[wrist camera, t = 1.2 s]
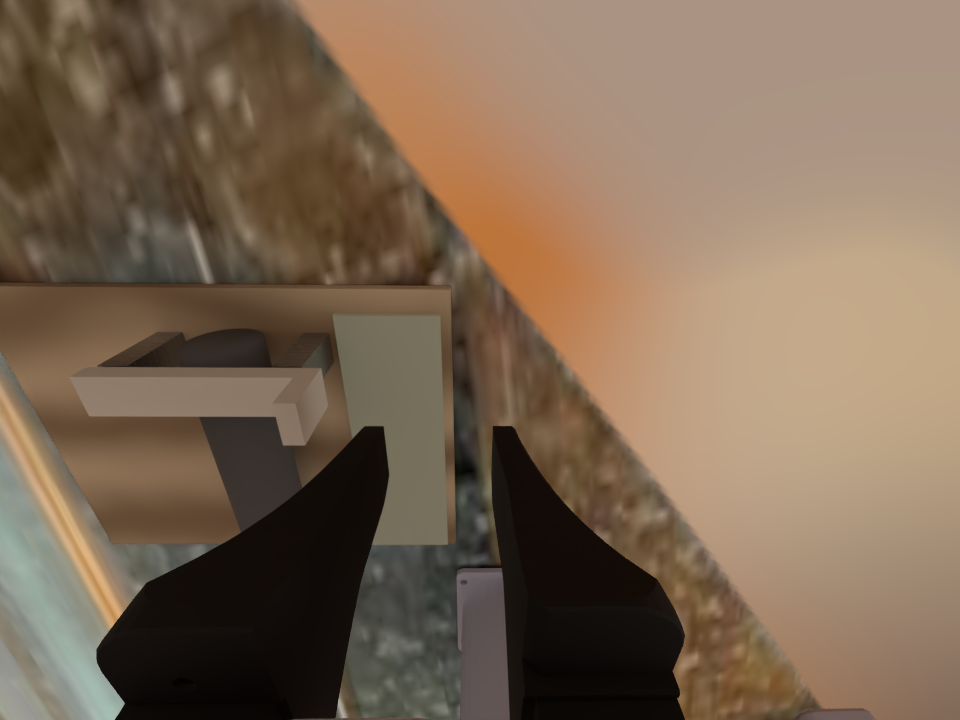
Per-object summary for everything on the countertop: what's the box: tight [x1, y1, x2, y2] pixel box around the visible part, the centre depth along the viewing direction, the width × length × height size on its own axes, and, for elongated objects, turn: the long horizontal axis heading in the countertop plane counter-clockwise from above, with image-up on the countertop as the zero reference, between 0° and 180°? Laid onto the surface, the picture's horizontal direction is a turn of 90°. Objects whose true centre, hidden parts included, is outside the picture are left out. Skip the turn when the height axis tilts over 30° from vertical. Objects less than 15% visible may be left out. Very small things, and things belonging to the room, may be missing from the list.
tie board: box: [0, 282, 456, 545], centre depth 21 cm, size 17×22×4 cm
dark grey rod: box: [176, 329, 302, 532], centre depth 21 cm, size 14×3×3 cm, turn 179°
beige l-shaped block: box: [69, 367, 328, 445], centre depth 15 cm, size 2×9×3 cm, turn 89°
